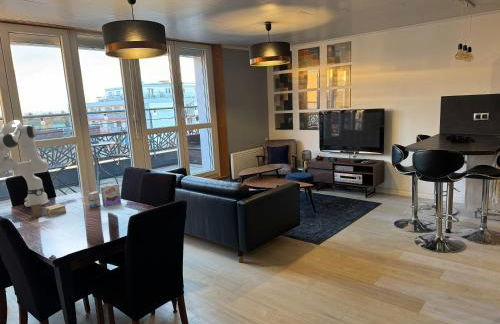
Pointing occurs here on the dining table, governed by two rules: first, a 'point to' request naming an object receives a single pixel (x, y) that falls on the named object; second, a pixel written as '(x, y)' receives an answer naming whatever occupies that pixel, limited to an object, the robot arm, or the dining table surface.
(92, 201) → the ink box
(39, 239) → the dining table surface
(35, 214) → the walnut pillar
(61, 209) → the beech block
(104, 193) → the candy box
